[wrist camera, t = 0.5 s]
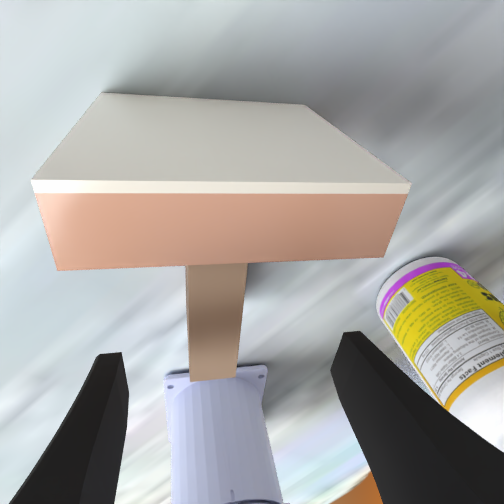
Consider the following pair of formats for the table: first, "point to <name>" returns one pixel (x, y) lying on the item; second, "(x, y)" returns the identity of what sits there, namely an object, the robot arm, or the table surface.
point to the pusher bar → (214, 318)
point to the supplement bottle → (450, 339)
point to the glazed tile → (212, 186)
